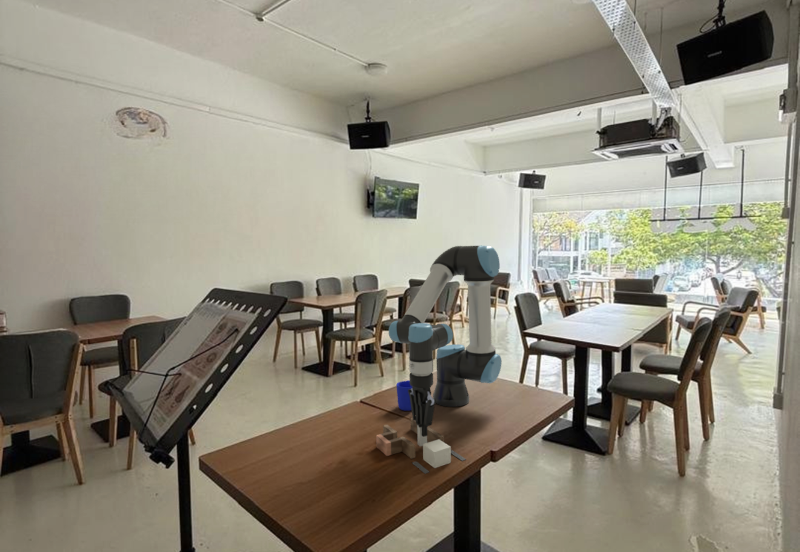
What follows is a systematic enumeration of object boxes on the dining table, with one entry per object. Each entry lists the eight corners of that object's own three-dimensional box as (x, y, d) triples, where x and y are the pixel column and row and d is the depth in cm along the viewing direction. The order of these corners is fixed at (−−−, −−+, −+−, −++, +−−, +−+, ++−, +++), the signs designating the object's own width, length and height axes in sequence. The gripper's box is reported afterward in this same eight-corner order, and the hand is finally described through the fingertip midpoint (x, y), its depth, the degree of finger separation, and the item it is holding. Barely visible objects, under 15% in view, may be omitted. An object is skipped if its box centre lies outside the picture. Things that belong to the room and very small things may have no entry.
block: (423, 459, 132) (423, 444, 131) (439, 454, 135) (439, 439, 134) (434, 468, 127) (434, 452, 126) (450, 462, 130) (450, 446, 129)
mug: (418, 401, 180) (418, 378, 180) (416, 412, 168) (416, 387, 168) (398, 401, 181) (398, 377, 180) (395, 412, 169) (395, 387, 168)
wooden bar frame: (369, 440, 145) (368, 429, 145) (414, 428, 154) (414, 417, 154) (395, 463, 129) (395, 450, 129) (444, 448, 138) (444, 436, 138)
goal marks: (412, 463, 129) (412, 462, 129) (452, 450, 137) (452, 449, 137) (425, 473, 123) (425, 473, 123) (466, 459, 131) (466, 459, 131)
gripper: (400, 369, 140) (401, 439, 142) (422, 380, 129) (424, 456, 131) (419, 365, 144) (420, 434, 146) (443, 375, 133) (443, 449, 135)
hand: (422, 444), depth 139 cm, fingers closed
